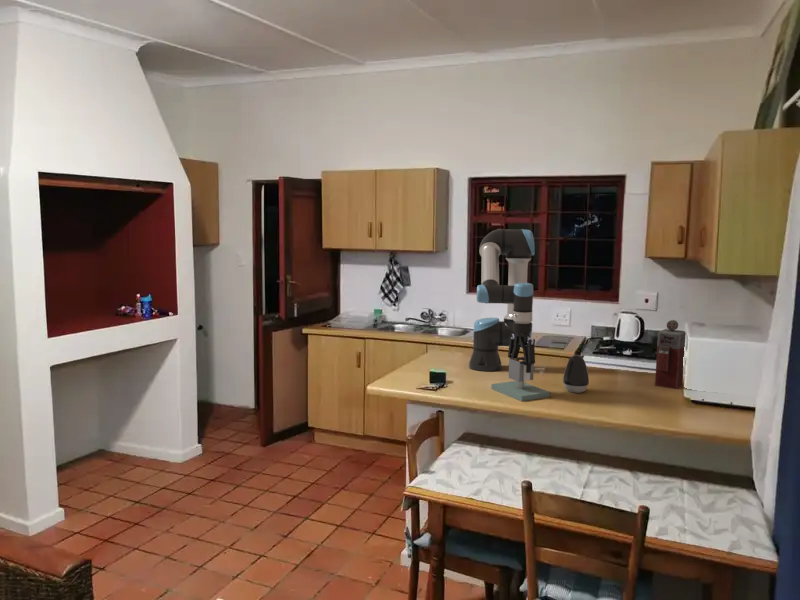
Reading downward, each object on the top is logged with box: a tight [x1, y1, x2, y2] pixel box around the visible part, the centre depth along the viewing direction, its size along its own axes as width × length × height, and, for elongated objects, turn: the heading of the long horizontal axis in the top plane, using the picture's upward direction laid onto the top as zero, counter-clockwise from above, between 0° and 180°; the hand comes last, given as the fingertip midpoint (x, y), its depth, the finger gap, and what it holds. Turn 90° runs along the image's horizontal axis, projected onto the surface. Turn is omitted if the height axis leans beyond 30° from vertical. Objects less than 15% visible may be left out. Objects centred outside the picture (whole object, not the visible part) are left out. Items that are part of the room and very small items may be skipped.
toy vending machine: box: [654, 319, 687, 390], centre depth 272 cm, size 9×11×28 cm
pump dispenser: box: [562, 354, 590, 394], centre depth 262 cm, size 10×10×15 cm
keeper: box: [490, 360, 551, 402], centre depth 259 cm, size 20×14×14 cm
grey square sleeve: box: [508, 356, 535, 382], centre depth 259 cm, size 7×7×8 cm
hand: (520, 378), depth 260 cm, fingers closed on grey square sleeve, 7 cm apart
